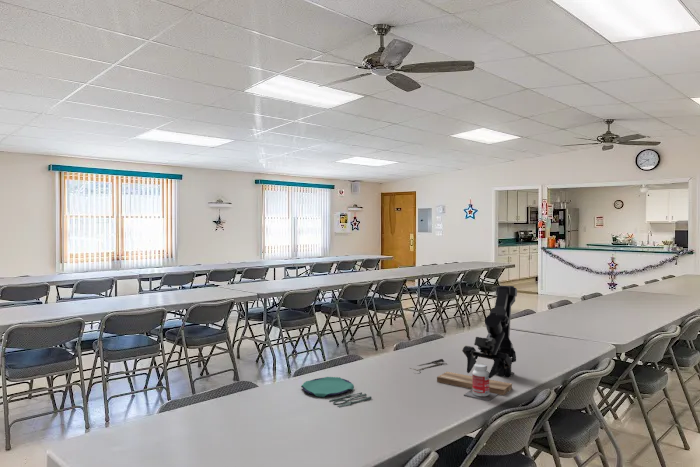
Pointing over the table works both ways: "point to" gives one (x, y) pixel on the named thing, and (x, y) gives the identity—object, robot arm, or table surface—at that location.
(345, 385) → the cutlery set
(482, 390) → the pill bottle
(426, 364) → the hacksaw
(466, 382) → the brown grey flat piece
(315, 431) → the table surface
